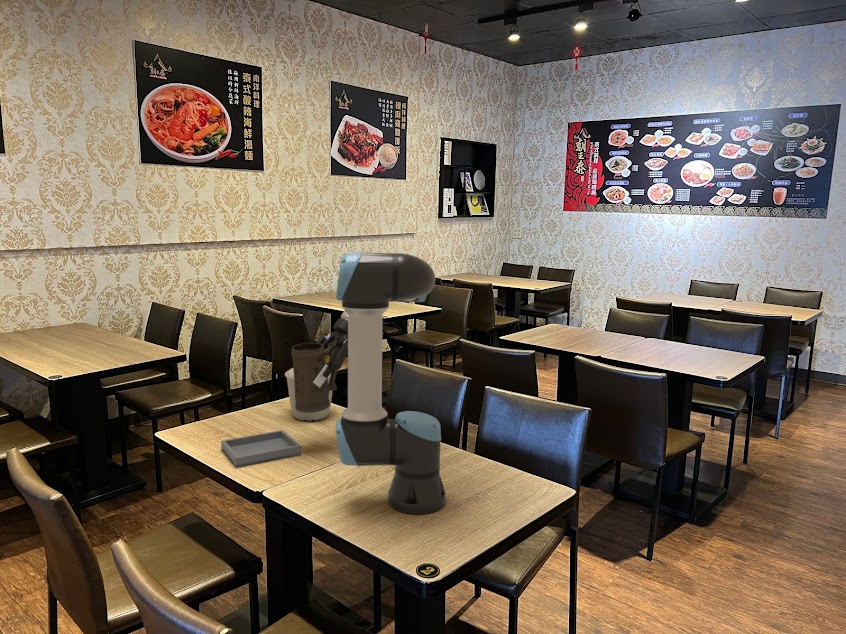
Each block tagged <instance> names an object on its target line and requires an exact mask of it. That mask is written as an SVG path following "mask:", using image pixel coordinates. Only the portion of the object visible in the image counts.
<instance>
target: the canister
mask: <svg viewBox="0 0 846 634" xmlns="http://www.w3.org/2000/svg"><path fill="white" fill-rule="evenodd" d="M330 375H331V374H330ZM330 375H329V376H328V384H329V380H330ZM284 376H285V378H286V382H287V389H288V396H289V397H288V399H289V403H290V411H291V413H292V415H293V417H294V418H295V419H296V420H300V421H304V420H306V421H305V422H313V421H312V420H315V421H319V419H320V420H323V419H325V418H327V417H328V416H329V414H330V411H331V406H332V397H333V390H331V391H329V397H328V398H329V401H330V406H329V407H328V408H327V409H325V410H322V411H319V412H313V413H305V412H300V411H297V410H296V408H295V404H296V400H295V383H294V372H293V367H292V368H290V369H289V370H287V371H286V372H285V373H284Z"/></svg>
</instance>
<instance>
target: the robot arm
mask: <svg viewBox="0 0 846 634" xmlns="http://www.w3.org/2000/svg"><path fill="white" fill-rule="evenodd" d="M435 284H436V274H435V271H434V270H433V268H432V266H431V265H430V264H429V263H428V262H426V261H425V260H423V259H422V258H419V257H418V256H415V255H412V254H408V253H402V252H401V253H400V252H398V253H396V252H395V253H389V252H388V253H386V252H362V251H361V252H360V251H359V252H348V253H344V254H343V256H342V257H341V259H340V264H339V271H338V277H337V285H336V292H335V293H336V295H335V298H336V300H337V301H341V308H342V309H343V310H344V311H343V312H342V314H341V315H340V318H338V319H337V321H336V322H335V324H334V325H333V329H334V330H333V332H331V333H328V332H324V333H323V335H322V337H320V339H319V340H318V341H317V342H316V343H320V344H322V345H323V346H324V349H327V348H328V346H333V351H332V354H331V357H330V356H329V360H328V362H327V363H326V362H325V363H326V365H325V366H324V368H323V369H322V370H321V372H320V373H319V375H318V376H317V377H316V379H315V380H314V381H313V383H314V384H316V385H317V386H318V387H319V388H320V387H321V385H322V384H323V383H324V381H325V380H326V378H328V376H329V375H330V374H331V372H332V371H333V370H335V369H337V370H338V371H339V370H340V369H341V367H342V366H343V363H344V361H345V359H346V357H347V407H346V408H345V409H344V410H343V411H342V412H341V418H339V419H337V420H336V421H335V431H336V433H335V434H336V442H337V451H338V456H339V460H340V462H341V463H342V464H343V465H345V466H354V467H355V466H356V467H362V466H363V467H364V466H365V467H369V466H370V467H371V466H373V467H374V466H395V467H394V474H393V478H392V479H391V483H390V486H389V489H388V492H387V502H388V505H389V506H390V507H391V508H392V509H393V510H396V511H398V512H401V513H405V514H410V515H425V514H431V513H434V512H435V513H436V512H437V511H439V510H441V509H443V507H444V506H445V505H446V498H447V497H446V491H445V486H444V484H443V481H442V478H441V472H440V471H441V466H440V465H441V441H442V436H441V432H442V431H441V423H440V422H439V420H438V418H436V417H434V416H432V415H430V414H428V413H425V412H421V411H414V410H413V411H412V410H405V411H400V412H397V414H396V416H395V418H388V412H387V411H386V409H385V408H383V406H382V397H383V396H382V395H383V394H382V393H383V387H382V386H383V384H382V383H383V317H384V316H383V315H384V313H385V312H386V311H387V310H388V309H389V307H390V303H391V302H397V303H421V302H426V300H427V295H429V294H430V293H431V292H432V290H433V289H434V287H435ZM389 302H390V303H389ZM337 363H338V364H337Z"/></svg>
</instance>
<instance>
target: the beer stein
mask: <svg viewBox="0 0 846 634" xmlns="http://www.w3.org/2000/svg"><path fill="white" fill-rule="evenodd" d="M332 351H333V346H328V348H327V349H324V346H323V345H322V344H320V343H317V342H306V343H305V342H304V343H299V344H294V345H293V346H292V347H291V351H290V352H291V353H290V354H291V357H292V358H291V359H292V364H293V365H292V366H293V367H292V368H293V372H294V383H295V400H296V404H295V408H296V410H297V411H300V412H305V413H313V412H319V411H322V410H325V409H327V408H328V407H329V406H330V401H329V398H328V397H329V391H331V390H332V391H337V390H338V389H337V388H338V387H337V384H336V378H337V373H338V372H339V370H337V369H335V370H333V371H332V372H331V375H330V380H329V384H328V378H326V380H325V381H324V383H323V384H322V385H321V387H320V388H319V387H318V386H317V385H316V384H314V383H313V381H314V380H315V379H316V377H317V376H318V375H319V373H320V372H321V370H322V369H323V368H324V366H325V365H327V364H326V356H329V358H330V357H331V354H332ZM337 364H338V363H337Z"/></svg>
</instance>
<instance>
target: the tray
mask: <svg viewBox="0 0 846 634" xmlns="http://www.w3.org/2000/svg"><path fill="white" fill-rule="evenodd" d="M220 443H221V444H220V447H221V448H220V449H221V451H222V453H223V454H224V453H225V454H224V455H225V456H226V458H228V460H229V461H230V462H231V464H233V466H234V468H236V469H238V468H237V467H239V468H243V466H244V467H248V465H249V466H252V465H258V464H262V463H268V462H273V460H274V461H278V459H279V460H282V459H283V458H284V459H287V458H292V457H299V456H302V445H301V444H300V443H299V442H298V441H296V440H295V439H294V438H293V437H292V436H291V435H290V434H288V433H287V432H286V431H285V430H284V429H279V430H274V431H267V432H264V433H257V434H252V435H246V436H241V437H235V438H229V439H223V440H220Z"/></svg>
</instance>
